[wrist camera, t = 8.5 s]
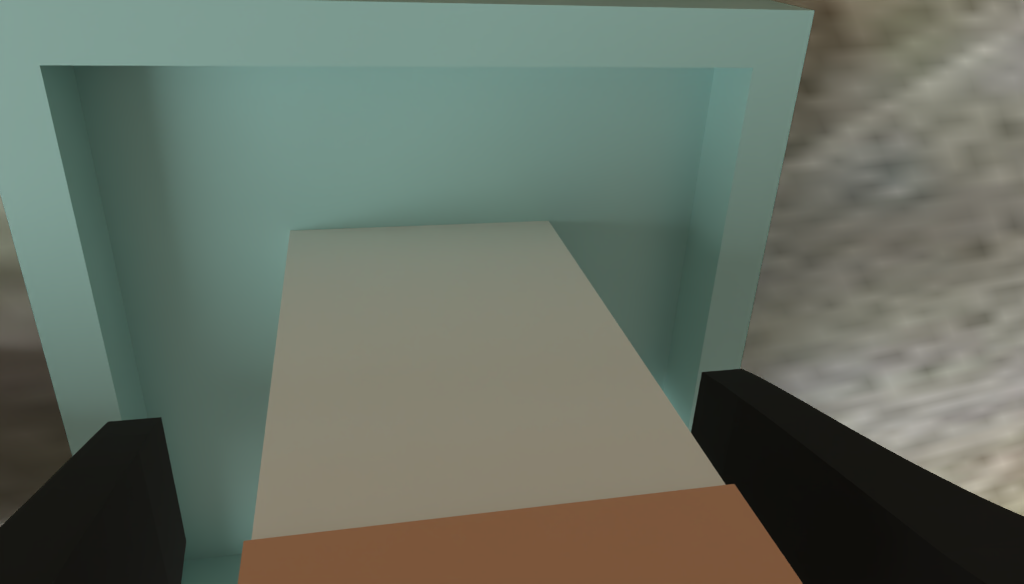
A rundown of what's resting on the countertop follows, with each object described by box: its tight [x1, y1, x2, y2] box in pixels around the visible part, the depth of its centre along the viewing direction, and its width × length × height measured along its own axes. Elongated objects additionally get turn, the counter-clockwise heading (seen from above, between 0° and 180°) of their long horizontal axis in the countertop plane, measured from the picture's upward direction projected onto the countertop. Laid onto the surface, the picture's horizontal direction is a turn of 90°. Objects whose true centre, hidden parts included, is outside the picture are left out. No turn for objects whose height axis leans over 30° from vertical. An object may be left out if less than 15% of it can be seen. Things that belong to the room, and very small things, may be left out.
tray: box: [0, 0, 815, 584], centre depth 13 cm, size 11×11×2 cm
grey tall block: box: [238, 221, 803, 584], centre depth 10 cm, size 4×4×8 cm
